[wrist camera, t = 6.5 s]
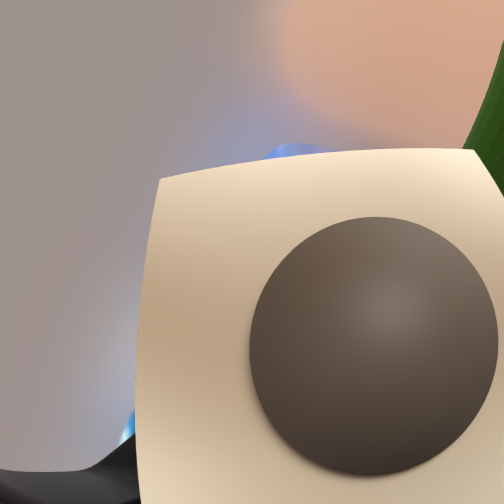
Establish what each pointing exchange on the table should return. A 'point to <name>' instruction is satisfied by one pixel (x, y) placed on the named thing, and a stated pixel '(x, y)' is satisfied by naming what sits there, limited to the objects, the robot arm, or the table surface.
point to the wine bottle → (491, 127)
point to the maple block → (324, 333)
